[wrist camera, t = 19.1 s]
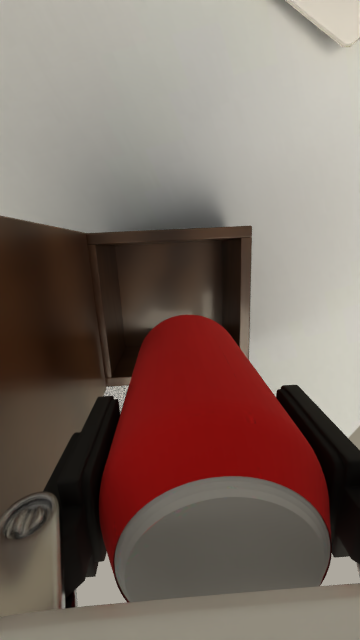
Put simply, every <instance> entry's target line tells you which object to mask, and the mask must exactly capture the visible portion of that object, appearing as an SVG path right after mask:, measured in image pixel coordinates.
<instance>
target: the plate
mask: <svg viewBox="0 0 360 640" xmlns="http://www.w3.org/2000/svg"><path fill="white" fill-rule="evenodd" d="M285 1H286V2H287V3H289V4H290V5H291V6H292V7H294V8H295V9H296V10H297V11H298V12H300V13H301V14H302V15H303V16H305V17H306V18H307V19H308V20H310V21H311V22H312V23H313V24H315V25H316V26H317V27H318V28H319V29H321V30H322V31H323V32H324V33H326V34H327V35H328V36H329V37H331V38H332V39H333V40H334V41H336V42H337V43H338V44H339V45H340V46H342V47H350V46H351V45H352V44H354V43H355V42H356V41H357V40H358V39H359V38H360V0H285Z"/></svg>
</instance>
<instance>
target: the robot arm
mask: <svg viewBox="0 0 360 640" xmlns="http://www.w3.org/2000/svg"><path fill="white" fill-rule="evenodd" d="M276 398H277V400H278V401H279V402H280V404H281V405H282V407H283V408H284V409H285V411H286V412H287V413H288V415H289V416H290V417H291V419H292V420H293V422H294V423H295V424H296V426H297V427H298V428H299V430H300V431H301V433H302V434H303V435H304V437H305V438H306V440H307V441H308V443H309V444H310V446H311V447H312V449H313V450H314V453H315V455H316V457H317V459H318V461H319V463H320V465H321V468H322V471H323V474H324V477H325V480H326V484H327V489H328V495H329V507H330V525H331V544H332V554H333V556H334V557H346V556H350V557H351V559H352V560H354V561H355V562H357V567H358V572H359V576H360V450H359V449H358V448H357V447H356V446H355V445H354V444H353V443H352V442H351V441H350V440H349V439H348V438H347V437H346V436H345V435H344V434H343V432H342V431H341V430H340V429H339V428H338V427H337V426H336V425H335V424H334V423H333V422H332V421H331V420H330V419H329V418H328V417H327V416H326V415H325V414H324V412H323V411H322V410H321V409H320V408H319V407H318V406H317V405H316V404H315V403H314V402H313V401H312V400H311V399H310V398H309V397H308V396H307V395H306V394H305V393H304V391H303V390H302V389H301V388H300V387H299V386H298V385H284V386H282V387H281V389H278V390H277V395H276ZM119 417H120V409H119V402H118V399H114V398H113V396H102V397H98V398H97V400H96V402H95V404H94V406H93V408H92V410H91V412H90V414H89V416H88V418H87V420H86V422H85V424H84V426H83V428H82V430H81V432H76V433H74V434H73V435H72V437H71V438H70V440H69V442H68V444H67V446H66V448H65V450H64V452H63V454H62V456H61V458H60V459H59V461H58V463H57V465H56V467H55V469H54V471H53V473H52V475H51V477H50V479H49V480H48V482H47V484H46V486H45V488H44V490H43V492H36V493H32V494H29V495H27V496H25V497H23V498H21V499H19V500H18V501H16V502H15V503H14V504H12V505H11V506H10V507H9V508H8V509H7V510H6V511H5V512H4V513H3V515H2V516H1V518H0V640H360V583H358V584H344V585H333V586H318V587H305V588H293V589H280V590H268V591H256V592H244V593H232V594H220V595H208V596H196V597H184V598H173V599H162V600H151V601H139V602H128V603H117V604H107V605H95V606H84V607H77V593H76V588H77V587H78V586H79V585H80V584H81V583H82V582H84V581H85V577H93V576H95V574H96V571H97V566H98V562H100V561H104V559H105V556H106V552H107V550H106V547H105V544H104V540H103V536H102V532H101V527H100V520H99V491H100V485H101V480H102V475H103V471H104V468H105V465H106V461H107V458H108V454H109V451H110V448H111V444H112V441H113V438H114V434H115V431H116V427H117V424H118V421H119Z"/></svg>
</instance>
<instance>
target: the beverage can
mask: <svg viewBox="0 0 360 640" xmlns="http://www.w3.org/2000/svg"><path fill="white" fill-rule="evenodd" d="M99 520H100V527H101V532H102V536H103V540H104V544H105V547H106V550H107V553H108V557H109V560H110V563H111V567H112V570H113V573H114V577H115V580H116V583H117V585H118V588H119V590H120V592H121V594H122V595H123V597H124V598H125V600H126V601H127V602H139V601H151V600H162V599H173V598H184V597H196V596H208V595H220V594H232V593H244V592H256V591H268V590H280V589H293V588H305V587H318V586H320V585H321V584H322V582H323V580H324V578H325V576H326V574H327V571H328V568H329V565H330V560H331V553H332V544H331V525H330V507H329V495H328V489H327V484H326V480H325V477H324V474H323V471H322V468H321V465H320V463H319V461H318V459H317V457H316V455H315V453H314V450H313V449H312V447H311V446H310V444H309V443H308V441H307V440H306V438H305V437H304V435H303V434H302V433H301V431H300V430H299V428H298V427H297V426H296V424H295V423H294V422H293V420H292V419H291V417H290V416H289V415H288V413H287V412H286V411H285V409H284V408H283V407H282V405H281V404H280V402H279V401H278V400H277V398H276V397H275V396H274V394H273V393H272V391H271V390H270V389H269V387H268V386H267V385H266V383H265V382H264V380H263V379H262V378H261V376H260V375H259V374H258V372H257V371H256V369H255V368H254V367H253V365H252V364H251V363H250V361H249V360H248V359H247V357H246V356H245V354H244V353H243V352H242V350H241V349H240V348H239V346H238V345H237V343H236V342H235V341H234V339H233V338H232V337H231V335H230V334H229V333H228V332H227V330H226V329H224V328H223V327H222V326H221V325H220V324H218V323H217V322H215V321H213V320H211V319H209V318H206V317H203V316H199V315H178V316H174V317H171V318H168V319H166V320H164V321H162V322H161V323H159V324H158V325H156V326H155V327H154V328H153V329H152V330H151V331H150V332H149V333H148V335H147V336H146V337H145V339H144V341H143V342H142V345H141V347H140V350H139V353H138V357H137V360H136V364H135V367H134V370H133V374H132V377H131V380H130V384H129V387H128V390H127V394H126V397H125V401H124V404H123V407H122V411H121V414H120V417H119V421H118V424H117V427H116V431H115V434H114V438H113V441H112V444H111V448H110V451H109V454H108V458H107V461H106V465H105V468H104V471H103V475H102V480H101V485H100V491H99Z"/></svg>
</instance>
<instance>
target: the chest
mask: <svg viewBox="0 0 360 640" xmlns="http://www.w3.org/2000/svg"><path fill="white" fill-rule="evenodd" d="M251 236H252V226H236V227H214V228H192V229H169V230H147V231H125V232H103V233H86V239H87V247H88V254H89V262H90V269H91V277H92V284H93V292H94V300H95V307H96V315H97V322H98V330H99V337H100V345H101V352H102V360H103V367H104V375H105V382H106V387H107V386H124V385H129V384H130V380H131V377H132V374H133V370H134V367H135V364H136V360H137V357H138V353H139V350H140V347H141V345H142V342H143V341H144V339H145V337H146V336H147V335H148V333H149V332H150V331H151V330H152V329H153V328H154V327H155V326H156V325H158V324H159V323H161V322H162V321H164V320H166V319H168V318H171V317H174V316H178V315H199V316H203V317H206V318H209V319H211V320H213V321H215V322H217V323H218V324H220V325H221V326H222V327H223V328H224V329H226V330H227V332H228V333H229V334H230V335H231V337H232V338H233V339H234V341H235V342H236V343H237V345H238V346H239V348H240V349H241V350H242V352H243V353H244V354H245V356H246V357H247V359H248V360H249V327H250V286H251V246H252V237H251Z"/></svg>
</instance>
